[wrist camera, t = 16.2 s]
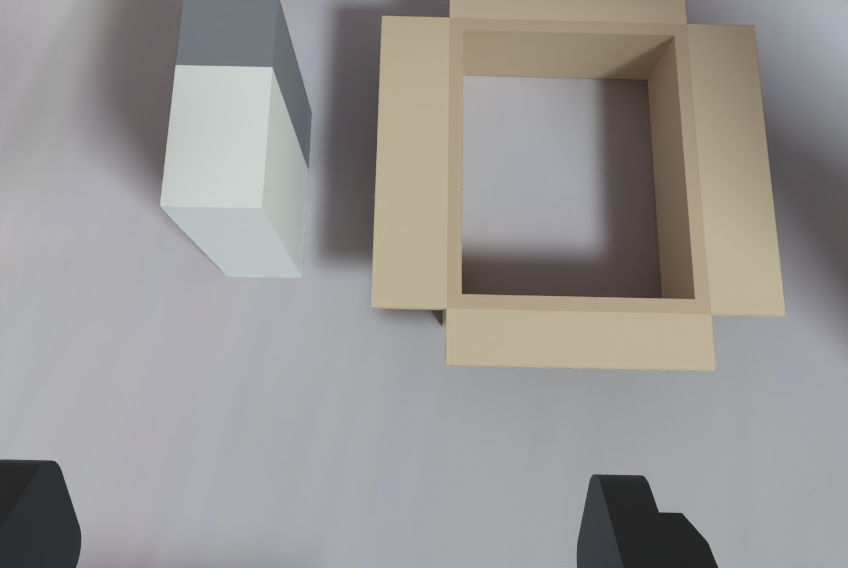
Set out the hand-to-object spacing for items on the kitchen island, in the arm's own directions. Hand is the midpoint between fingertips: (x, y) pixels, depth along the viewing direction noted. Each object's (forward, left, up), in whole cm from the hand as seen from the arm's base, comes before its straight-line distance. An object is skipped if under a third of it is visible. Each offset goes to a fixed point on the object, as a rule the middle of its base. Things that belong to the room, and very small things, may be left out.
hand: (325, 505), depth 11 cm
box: (+8, -17, -30) cm, 36 cm away
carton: (-10, -18, -30) cm, 37 cm away
